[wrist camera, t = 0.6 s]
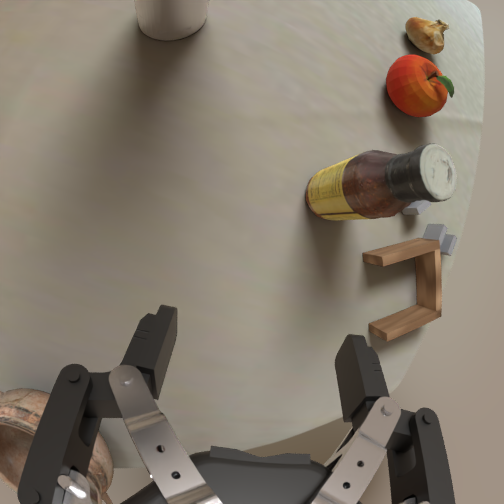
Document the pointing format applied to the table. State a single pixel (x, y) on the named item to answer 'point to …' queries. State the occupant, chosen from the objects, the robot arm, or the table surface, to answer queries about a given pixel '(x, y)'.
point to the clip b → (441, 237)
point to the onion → (426, 34)
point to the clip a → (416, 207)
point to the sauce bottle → (381, 183)
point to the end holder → (425, 281)
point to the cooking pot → (22, 433)
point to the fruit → (417, 86)
